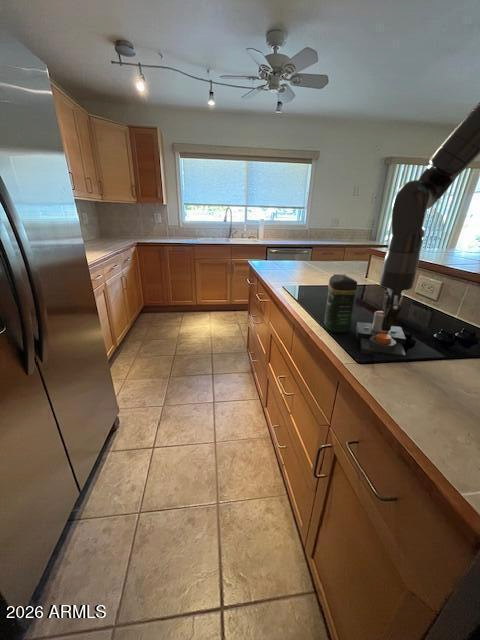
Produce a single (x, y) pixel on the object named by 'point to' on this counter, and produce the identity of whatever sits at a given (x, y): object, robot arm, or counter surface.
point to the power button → (383, 338)
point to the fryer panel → (366, 332)
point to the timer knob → (378, 322)
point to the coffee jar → (340, 303)
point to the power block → (381, 347)
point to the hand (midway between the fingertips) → (385, 329)
